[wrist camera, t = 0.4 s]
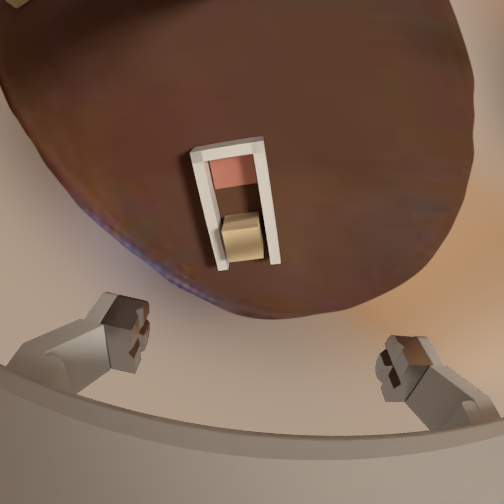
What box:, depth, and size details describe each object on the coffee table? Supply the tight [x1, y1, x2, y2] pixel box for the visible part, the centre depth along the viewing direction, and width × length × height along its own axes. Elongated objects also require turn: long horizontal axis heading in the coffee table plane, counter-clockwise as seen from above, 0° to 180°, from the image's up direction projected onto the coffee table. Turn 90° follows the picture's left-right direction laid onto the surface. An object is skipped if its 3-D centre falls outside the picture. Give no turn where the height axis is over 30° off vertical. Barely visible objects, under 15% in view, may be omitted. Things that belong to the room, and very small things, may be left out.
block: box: [222, 211, 264, 262], centre depth 47 cm, size 5×5×5 cm
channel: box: [190, 136, 281, 271], centre depth 46 cm, size 18×10×3 cm, turn 9°
